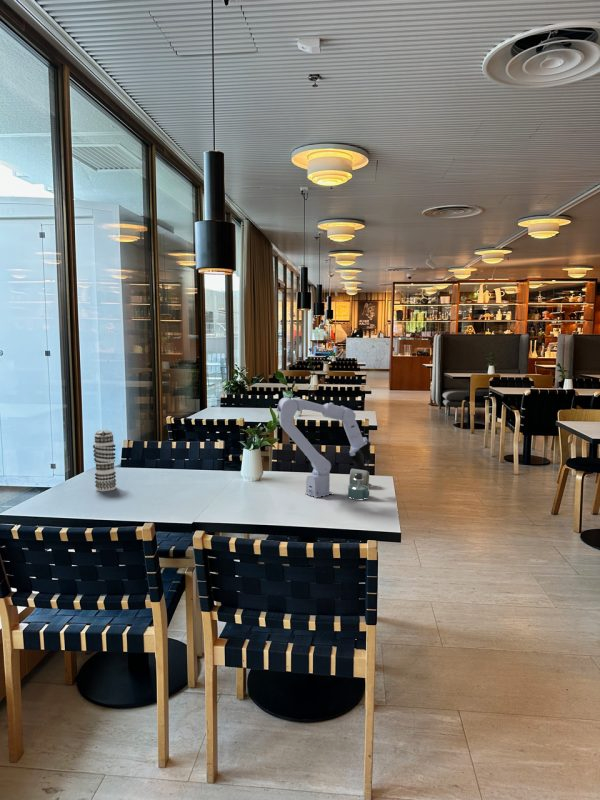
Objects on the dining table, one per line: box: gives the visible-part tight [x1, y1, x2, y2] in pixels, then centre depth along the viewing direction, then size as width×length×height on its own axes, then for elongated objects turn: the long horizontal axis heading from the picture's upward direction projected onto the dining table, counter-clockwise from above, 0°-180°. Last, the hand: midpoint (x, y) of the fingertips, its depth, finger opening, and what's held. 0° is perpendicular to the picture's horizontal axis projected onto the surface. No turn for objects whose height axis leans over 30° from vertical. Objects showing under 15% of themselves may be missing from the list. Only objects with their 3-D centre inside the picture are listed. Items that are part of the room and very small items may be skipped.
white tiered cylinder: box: [92, 429, 117, 492], centre depth 238 cm, size 9×9×25 cm
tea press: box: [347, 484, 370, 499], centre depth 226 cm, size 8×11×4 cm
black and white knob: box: [351, 473, 365, 489], centre depth 226 cm, size 6×6×6 cm
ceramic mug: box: [348, 468, 370, 487], centre depth 245 cm, size 11×8×8 cm
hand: (365, 463), depth 234 cm, fingers open, 7 cm apart
